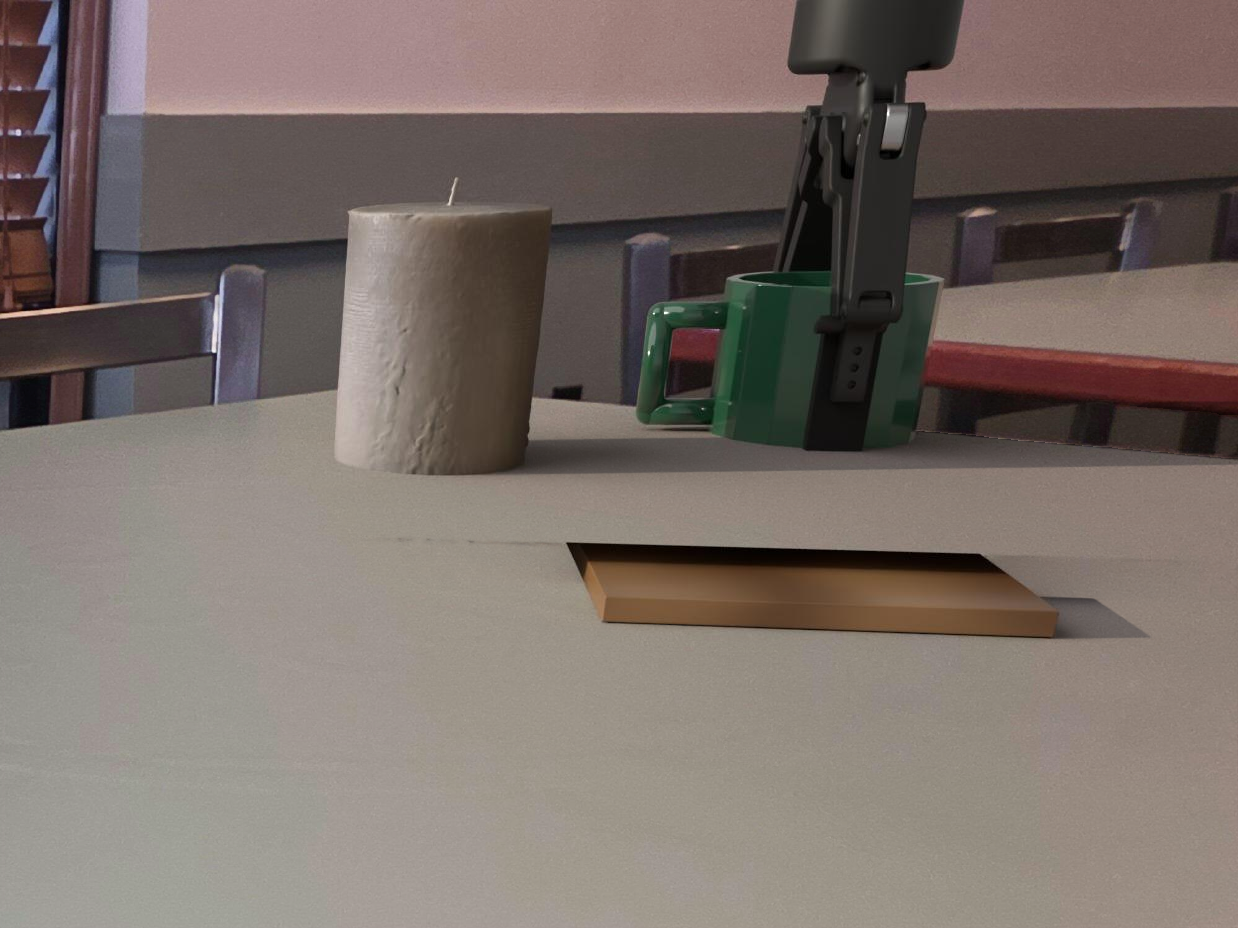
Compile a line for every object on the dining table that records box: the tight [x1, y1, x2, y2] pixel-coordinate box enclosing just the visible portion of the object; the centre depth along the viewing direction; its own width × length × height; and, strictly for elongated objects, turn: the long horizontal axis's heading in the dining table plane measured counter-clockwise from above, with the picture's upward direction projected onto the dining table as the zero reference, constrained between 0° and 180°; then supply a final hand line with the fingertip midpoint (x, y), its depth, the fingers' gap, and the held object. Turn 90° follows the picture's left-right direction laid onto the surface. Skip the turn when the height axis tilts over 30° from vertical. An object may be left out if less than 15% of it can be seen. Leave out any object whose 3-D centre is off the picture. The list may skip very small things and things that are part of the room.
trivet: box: [565, 541, 1060, 638], centre depth 72 cm, size 16×16×1 cm
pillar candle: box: [333, 177, 553, 476], centre depth 86 cm, size 10×10×15 cm
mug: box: [635, 271, 945, 450], centre depth 93 cm, size 14×10×9 cm
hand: (805, 448), depth 94 cm, fingers closed on mug, 10 cm apart
